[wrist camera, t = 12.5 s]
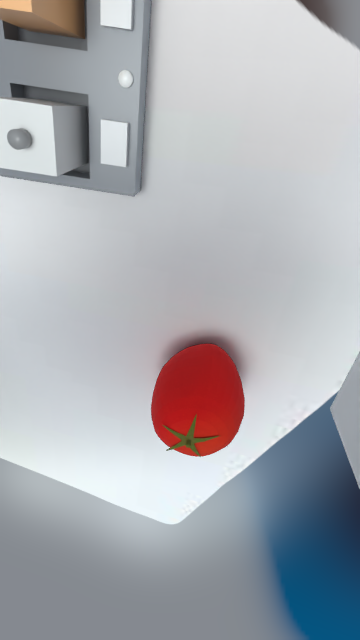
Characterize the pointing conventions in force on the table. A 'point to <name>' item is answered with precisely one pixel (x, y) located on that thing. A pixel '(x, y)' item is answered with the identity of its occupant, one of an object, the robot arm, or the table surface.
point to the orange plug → (46, 16)
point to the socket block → (88, 88)
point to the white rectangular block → (42, 135)
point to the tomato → (198, 401)
